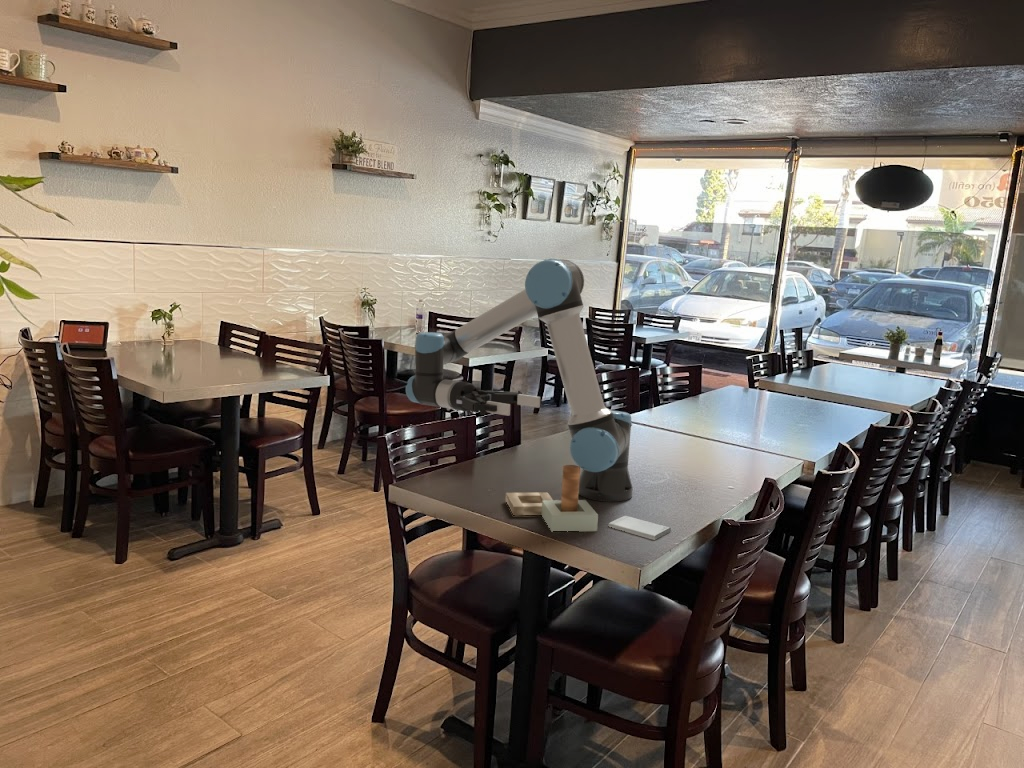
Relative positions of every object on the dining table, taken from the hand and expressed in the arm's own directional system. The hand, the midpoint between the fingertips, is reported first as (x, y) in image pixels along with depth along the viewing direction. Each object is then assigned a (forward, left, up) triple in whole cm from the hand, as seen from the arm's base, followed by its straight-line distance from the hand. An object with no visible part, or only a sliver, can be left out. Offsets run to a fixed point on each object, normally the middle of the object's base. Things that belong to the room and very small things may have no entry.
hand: (524, 406), depth 194 cm
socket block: (-10, +12, -26) cm, 30 cm away
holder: (-3, +1, -26) cm, 26 cm away
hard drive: (-26, +17, -27) cm, 41 cm away
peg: (-10, +12, -26) cm, 30 cm away
